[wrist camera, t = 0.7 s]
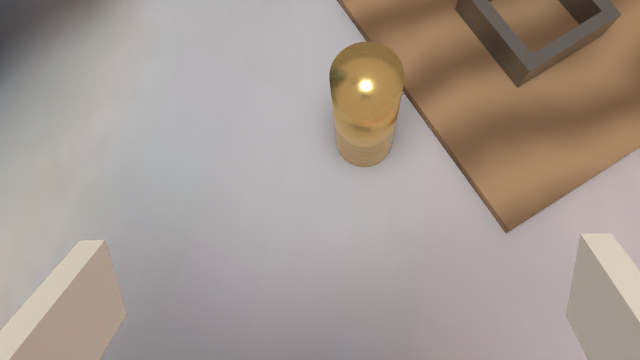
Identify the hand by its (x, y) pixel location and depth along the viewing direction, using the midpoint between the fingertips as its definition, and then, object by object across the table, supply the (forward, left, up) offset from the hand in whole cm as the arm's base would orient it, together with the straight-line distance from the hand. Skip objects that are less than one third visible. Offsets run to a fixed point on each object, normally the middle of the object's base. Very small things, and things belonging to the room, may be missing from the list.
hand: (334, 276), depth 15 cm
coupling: (-10, +8, -26) cm, 29 cm away
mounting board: (-10, +23, -26) cm, 36 cm away
